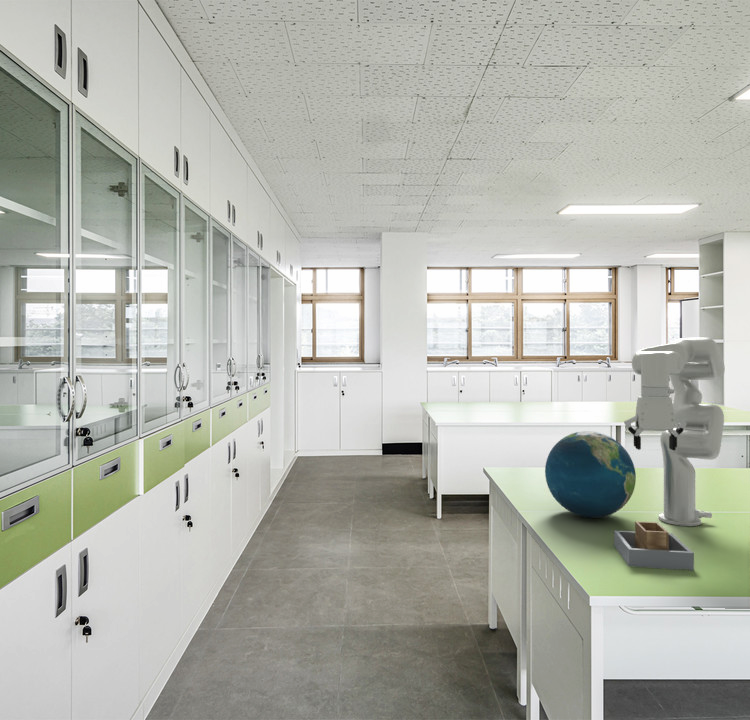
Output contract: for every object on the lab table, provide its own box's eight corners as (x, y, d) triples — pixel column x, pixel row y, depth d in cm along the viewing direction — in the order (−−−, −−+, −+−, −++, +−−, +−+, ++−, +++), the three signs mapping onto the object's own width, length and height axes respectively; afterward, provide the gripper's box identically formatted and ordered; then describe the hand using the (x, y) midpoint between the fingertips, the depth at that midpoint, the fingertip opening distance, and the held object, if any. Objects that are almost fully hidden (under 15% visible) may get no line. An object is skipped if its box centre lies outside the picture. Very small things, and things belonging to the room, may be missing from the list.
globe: (579, 533, 172) (579, 439, 172) (529, 508, 201) (528, 427, 200) (656, 525, 180) (655, 435, 180) (597, 502, 208) (596, 424, 208)
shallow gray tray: (672, 550, 158) (672, 533, 158) (693, 571, 142) (693, 553, 142) (614, 547, 161) (614, 530, 161) (628, 567, 145) (628, 549, 145)
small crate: (657, 550, 155) (657, 522, 155) (668, 561, 146) (668, 532, 146) (635, 548, 156) (635, 521, 156) (644, 560, 147) (644, 531, 147)
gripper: (681, 392, 165) (681, 447, 165) (621, 391, 168) (621, 446, 168) (691, 393, 158) (691, 452, 158) (627, 393, 161) (628, 450, 161)
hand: (655, 449), depth 163 cm, fingers open, 9 cm apart
